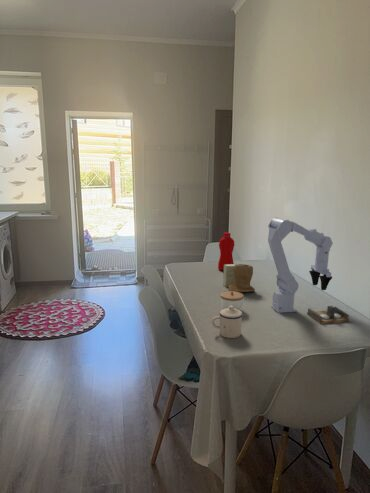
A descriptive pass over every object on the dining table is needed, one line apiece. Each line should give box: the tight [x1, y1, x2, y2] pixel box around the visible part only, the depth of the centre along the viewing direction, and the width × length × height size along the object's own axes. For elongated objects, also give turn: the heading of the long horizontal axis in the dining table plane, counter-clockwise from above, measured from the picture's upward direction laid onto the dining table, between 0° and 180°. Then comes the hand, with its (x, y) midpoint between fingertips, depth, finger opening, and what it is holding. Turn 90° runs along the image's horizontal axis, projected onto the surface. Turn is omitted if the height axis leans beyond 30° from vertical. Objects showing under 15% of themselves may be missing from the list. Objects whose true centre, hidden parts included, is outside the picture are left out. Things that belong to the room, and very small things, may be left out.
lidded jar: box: [220, 290, 245, 310], centre depth 173 cm, size 11×11×9 cm
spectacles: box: [313, 305, 341, 319], centre depth 166 cm, size 10×8×5 cm
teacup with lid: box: [211, 306, 243, 339], centre depth 148 cm, size 12×9×12 cm
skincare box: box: [222, 264, 236, 288], centre depth 210 cm, size 6×4×12 cm
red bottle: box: [217, 232, 235, 272], centre depth 244 cm, size 9×11×25 cm
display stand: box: [306, 306, 350, 325], centre depth 166 cm, size 14×11×3 cm
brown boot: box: [228, 263, 256, 293], centre depth 201 cm, size 15×12×15 cm
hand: (319, 287), depth 180 cm, fingers open, 7 cm apart
